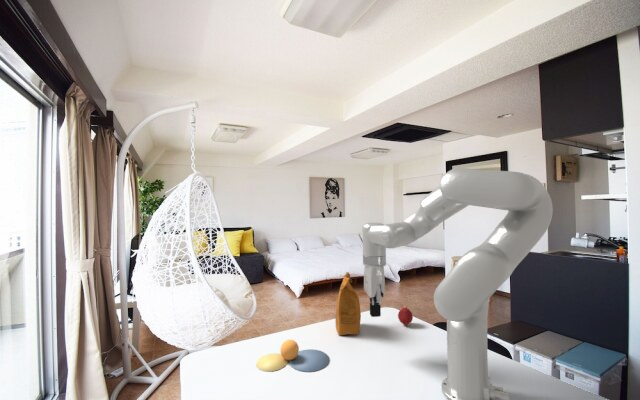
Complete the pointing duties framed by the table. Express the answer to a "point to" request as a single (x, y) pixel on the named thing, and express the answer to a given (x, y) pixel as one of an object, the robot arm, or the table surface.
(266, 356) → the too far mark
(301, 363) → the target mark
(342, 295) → the coffee package
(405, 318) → the onion
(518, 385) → the table surface
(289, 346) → the ball
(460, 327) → the robot arm
